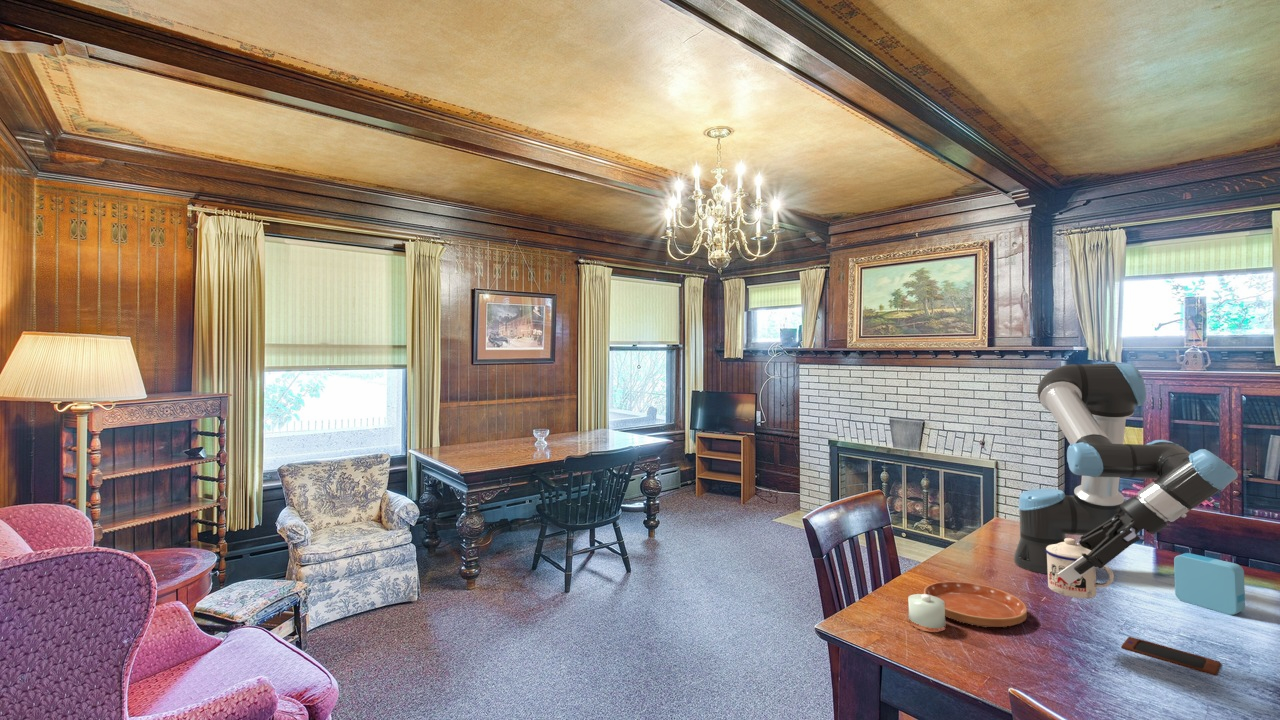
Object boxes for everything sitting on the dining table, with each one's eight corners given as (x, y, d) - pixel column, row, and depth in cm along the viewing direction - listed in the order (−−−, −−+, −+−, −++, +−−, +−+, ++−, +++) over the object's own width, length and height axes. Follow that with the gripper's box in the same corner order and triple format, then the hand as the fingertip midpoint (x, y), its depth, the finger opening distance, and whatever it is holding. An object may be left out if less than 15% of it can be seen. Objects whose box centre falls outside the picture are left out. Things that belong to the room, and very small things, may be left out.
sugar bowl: (911, 615, 145) (910, 586, 145) (946, 622, 140) (946, 593, 140) (906, 627, 138) (905, 598, 138) (943, 635, 134) (942, 605, 134)
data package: (1245, 613, 140) (1244, 565, 141) (1237, 617, 139) (1235, 568, 139) (1183, 596, 151) (1182, 551, 151) (1174, 599, 150) (1173, 553, 150)
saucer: (1018, 601, 152) (1017, 587, 152) (1036, 640, 131) (1035, 624, 131) (922, 589, 161) (922, 576, 161) (925, 623, 140) (925, 608, 140)
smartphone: (1128, 635, 130) (1221, 661, 118) (1128, 639, 130) (1221, 665, 118) (1120, 645, 126) (1216, 673, 114) (1120, 649, 126) (1216, 678, 114)
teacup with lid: (1041, 591, 127) (1039, 539, 127) (1053, 580, 133) (1051, 530, 133) (1109, 607, 118) (1107, 551, 118) (1119, 595, 124) (1117, 541, 124)
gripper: (1183, 537, 109) (1082, 603, 117) (1157, 510, 127) (1071, 569, 135) (1146, 507, 112) (1049, 573, 120) (1125, 485, 130) (1043, 544, 138)
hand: (1061, 571), depth 128 cm, fingers closed on teacup with lid, 9 cm apart
